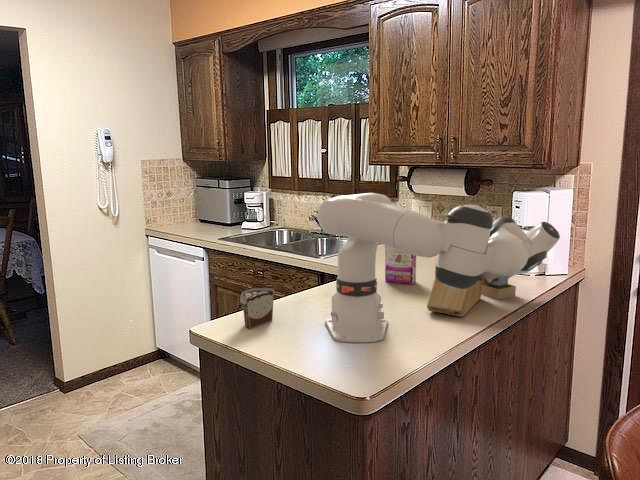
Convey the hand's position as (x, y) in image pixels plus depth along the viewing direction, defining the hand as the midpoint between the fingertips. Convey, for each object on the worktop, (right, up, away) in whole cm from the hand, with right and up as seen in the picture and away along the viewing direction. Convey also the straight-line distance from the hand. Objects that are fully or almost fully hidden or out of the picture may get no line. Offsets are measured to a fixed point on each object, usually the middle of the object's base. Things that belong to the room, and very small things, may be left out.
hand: (496, 279), depth 186 cm
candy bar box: (-31, -2, +19) cm, 37 cm away
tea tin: (0, -5, 0) cm, 5 cm away
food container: (-82, -11, -26) cm, 87 cm away
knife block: (-15, -7, -8) cm, 19 cm away
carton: (0, -5, 0) cm, 5 cm away
